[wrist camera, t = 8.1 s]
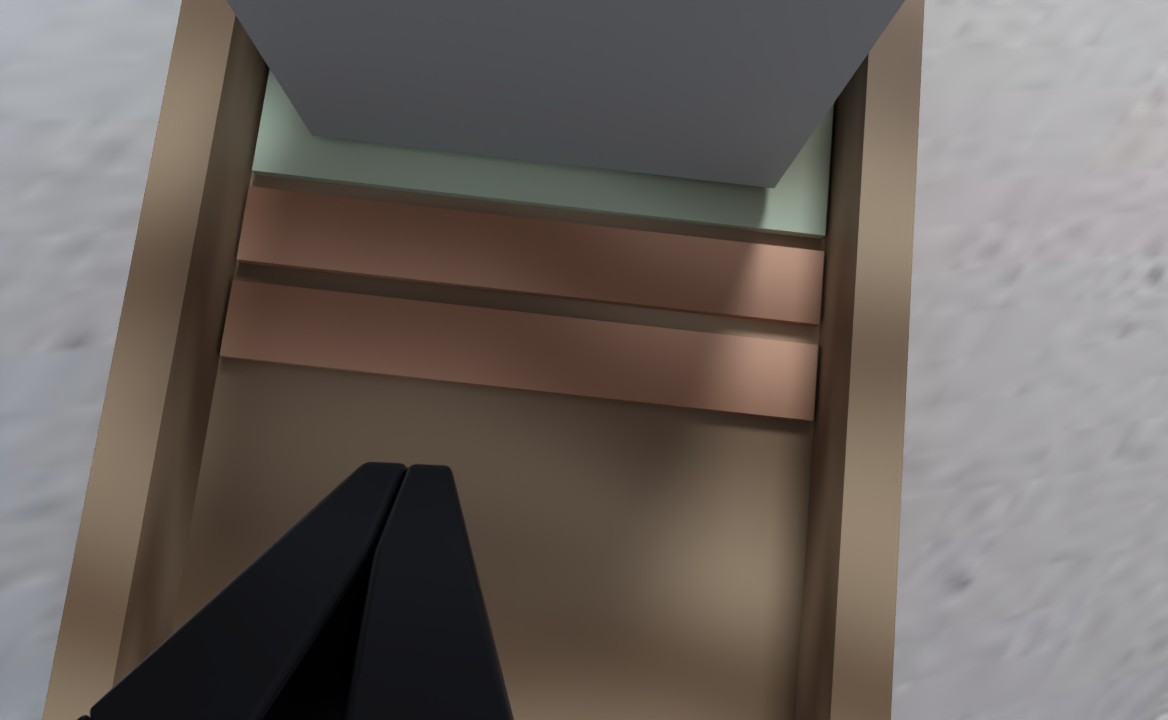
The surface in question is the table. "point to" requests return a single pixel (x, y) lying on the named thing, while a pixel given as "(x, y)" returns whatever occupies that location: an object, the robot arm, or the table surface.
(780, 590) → the box
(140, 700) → the robot arm
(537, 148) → the grey block
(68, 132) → the table surface
